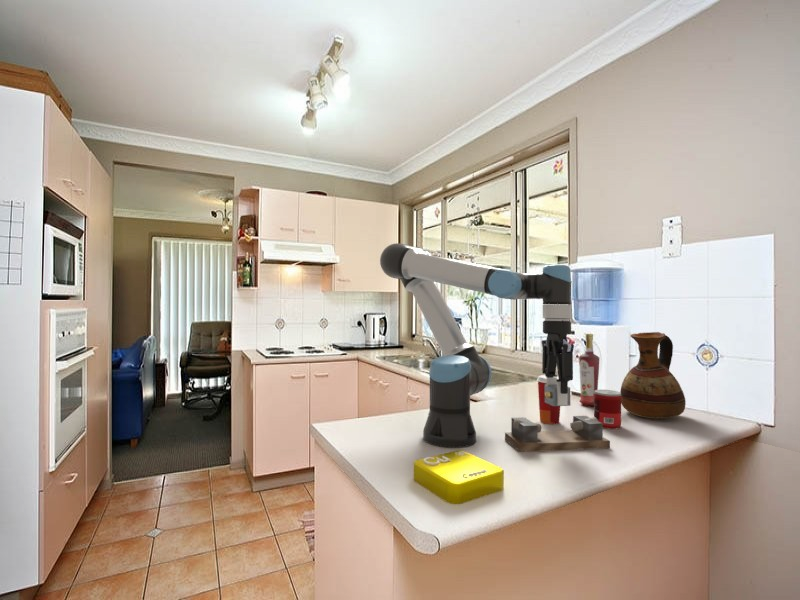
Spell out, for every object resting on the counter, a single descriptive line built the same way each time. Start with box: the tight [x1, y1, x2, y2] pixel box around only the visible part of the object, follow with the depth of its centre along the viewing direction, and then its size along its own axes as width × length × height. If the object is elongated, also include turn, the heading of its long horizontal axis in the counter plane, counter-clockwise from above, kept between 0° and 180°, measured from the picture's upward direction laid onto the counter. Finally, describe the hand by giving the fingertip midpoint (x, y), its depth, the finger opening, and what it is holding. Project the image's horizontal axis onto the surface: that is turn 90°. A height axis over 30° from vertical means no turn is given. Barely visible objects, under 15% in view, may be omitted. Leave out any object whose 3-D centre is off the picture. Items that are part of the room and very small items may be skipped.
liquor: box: [578, 333, 600, 408], centre depth 162 cm, size 7×7×28 cm
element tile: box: [412, 449, 505, 505], centre depth 90 cm, size 15×15×5 cm
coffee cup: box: [535, 374, 561, 425], centre depth 138 cm, size 8×8×15 cm
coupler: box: [545, 384, 571, 407], centre depth 116 cm, size 7×5×5 cm
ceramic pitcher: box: [619, 331, 687, 419], centre depth 148 cm, size 20×20×30 cm
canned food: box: [593, 389, 622, 430], centre depth 135 cm, size 8×8×11 cm
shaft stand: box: [504, 415, 611, 453], centre depth 116 cm, size 26×10×7 cm, turn 98°
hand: (556, 402), depth 116 cm, fingers closed on coupler, 5 cm apart
